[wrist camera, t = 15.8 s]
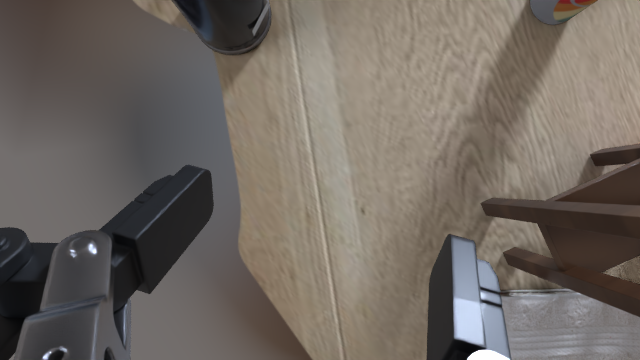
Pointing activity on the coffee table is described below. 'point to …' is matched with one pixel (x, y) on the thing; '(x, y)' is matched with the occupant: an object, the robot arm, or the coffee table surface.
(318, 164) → the coffee table surface
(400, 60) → the coffee table surface
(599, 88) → the coffee table surface
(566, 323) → the washcloth
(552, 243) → the stand
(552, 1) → the lotion bottle
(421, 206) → the coffee table surface
